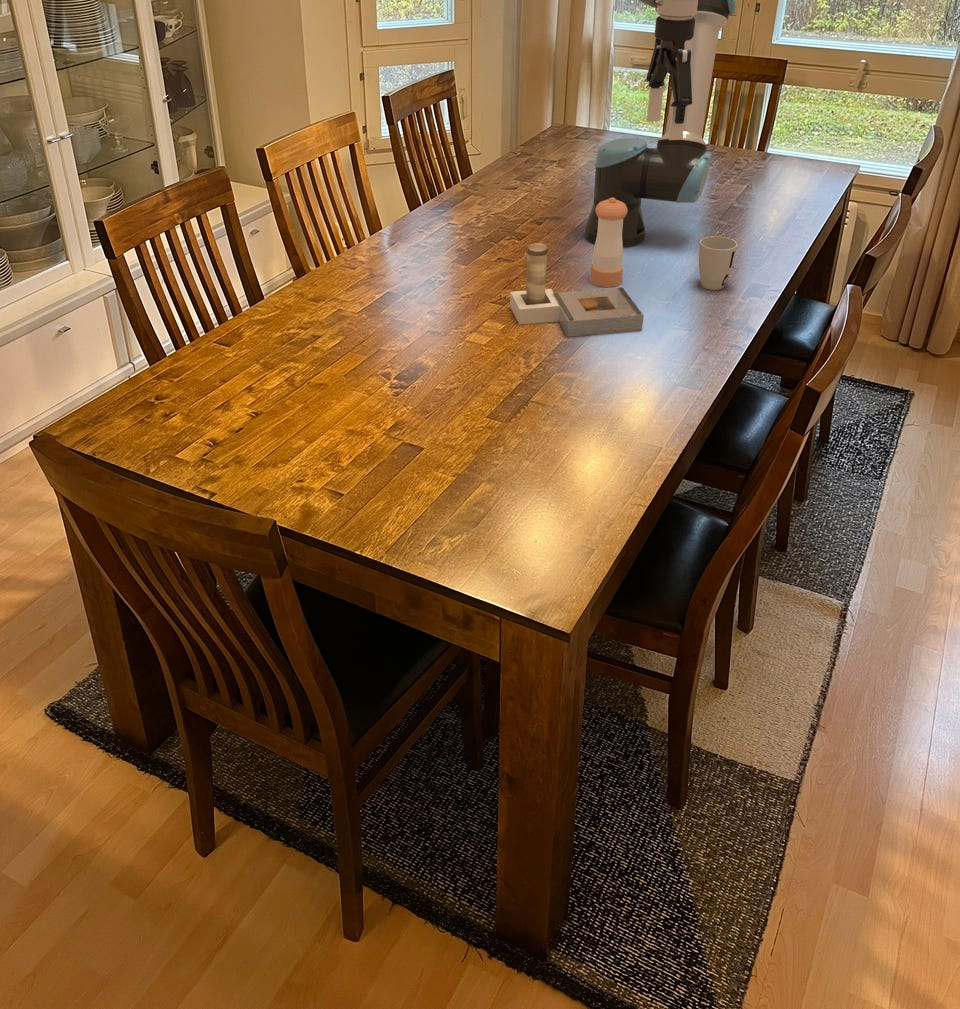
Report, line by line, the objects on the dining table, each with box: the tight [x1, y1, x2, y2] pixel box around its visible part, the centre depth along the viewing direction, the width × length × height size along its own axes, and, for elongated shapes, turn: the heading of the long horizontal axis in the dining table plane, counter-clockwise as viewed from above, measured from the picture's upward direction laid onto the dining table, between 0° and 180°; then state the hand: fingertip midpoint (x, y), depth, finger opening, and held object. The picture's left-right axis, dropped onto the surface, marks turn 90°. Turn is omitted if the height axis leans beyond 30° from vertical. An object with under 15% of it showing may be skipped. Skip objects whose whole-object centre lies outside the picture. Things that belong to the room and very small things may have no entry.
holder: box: [509, 288, 560, 326], centre depth 213 cm, size 9×9×4 cm
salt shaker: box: [589, 198, 628, 288], centre depth 222 cm, size 7×7×19 cm
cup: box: [698, 235, 738, 291], centre depth 223 cm, size 8×8×10 cm
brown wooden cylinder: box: [525, 242, 548, 305], centre depth 209 cm, size 4×4×15 cm
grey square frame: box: [553, 287, 645, 338], centre depth 211 cm, size 14×16×4 cm
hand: (664, 130), depth 204 cm, fingers open, 13 cm apart
